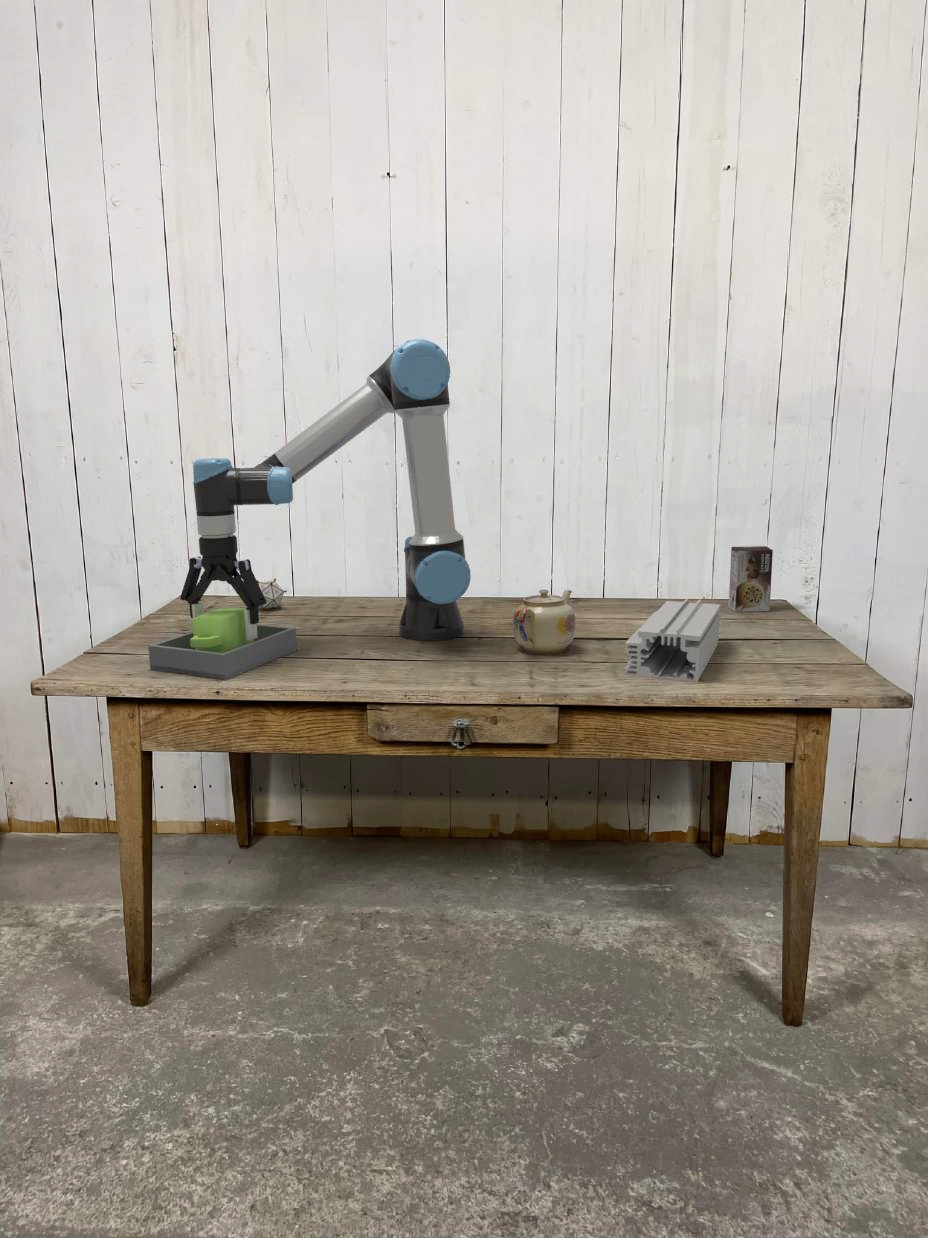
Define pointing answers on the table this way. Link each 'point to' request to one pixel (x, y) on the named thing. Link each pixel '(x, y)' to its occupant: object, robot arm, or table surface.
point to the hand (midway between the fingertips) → (225, 636)
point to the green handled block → (219, 630)
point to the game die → (271, 594)
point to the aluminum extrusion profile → (675, 641)
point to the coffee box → (750, 578)
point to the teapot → (545, 623)
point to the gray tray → (222, 654)
